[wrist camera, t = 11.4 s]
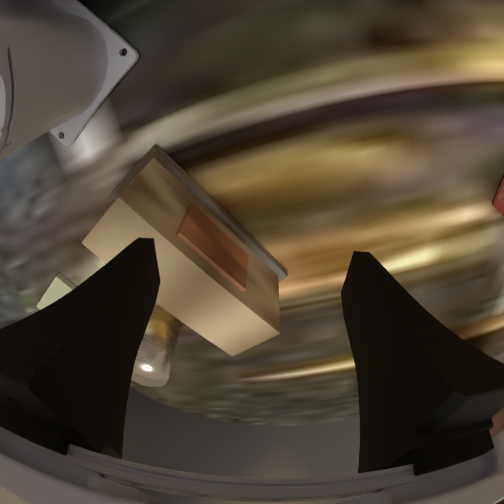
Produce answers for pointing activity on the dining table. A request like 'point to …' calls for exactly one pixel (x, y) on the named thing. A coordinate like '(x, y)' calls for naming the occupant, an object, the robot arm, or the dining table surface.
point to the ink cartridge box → (500, 199)
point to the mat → (56, 291)
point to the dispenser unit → (194, 254)
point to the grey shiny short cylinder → (157, 349)
